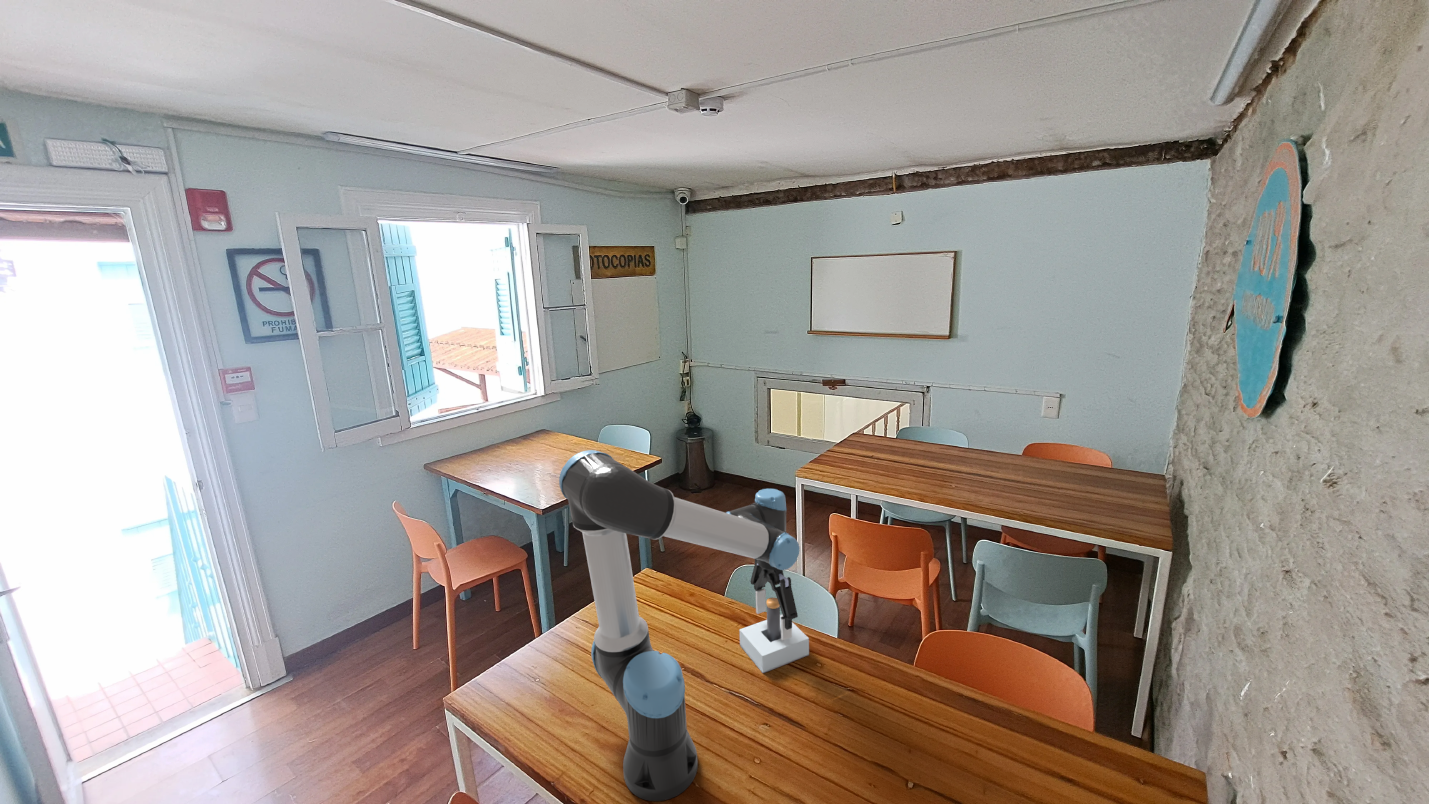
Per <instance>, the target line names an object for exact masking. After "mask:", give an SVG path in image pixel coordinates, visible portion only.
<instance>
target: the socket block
mask: <svg viewBox="0 0 1429 804" xmlns="http://www.w3.org/2000/svg"><path fill="white" fill-rule="evenodd" d="M781 616H782V614H780V639H778V640H775V641H773V642H770V641H769V640H768V639H767V619H765V620H761V621H760V622H757V623H753V624H751V625H748V626H745V627H743V628H739V647H740V648H741V649H742V650H743V651H744V652H745V654H746V655H747V656H748V658H750V660H751V661H752V662H753V663H754V664H755V666H756V667H757V668H758V669H759V671H760V672H761V673H762V674H765V673H767V672H770V671H772V670H775V669H778V668H780V667H782V666H785V665H788V664H790V663H793V662H795V661H797V660H800V659H803V658H804V657H805V658H806V657H808V656H810V638H809V637H808V636H807V635H806V634H805V633H804V632H803V631H802V630H801V629H800V628H799V627H798V626H797V625H796V624H795V623H794V622H793V621H792V637H791V638H788V639H785V640H782V639H781Z"/></svg>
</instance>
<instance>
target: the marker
mask: <svg viewBox="0 0 1429 804" xmlns="http://www.w3.org/2000/svg"><path fill="white" fill-rule="evenodd" d="M780 615H781V609H780V606H779V602H778V599H777V597H769V598H766V620H767V639H768V640H769V641H770V642H773V641H775V640H778V639H780Z"/></svg>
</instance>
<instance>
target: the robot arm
mask: <svg viewBox="0 0 1429 804" xmlns="http://www.w3.org/2000/svg"><path fill="white" fill-rule="evenodd" d="M558 485H559V488H560V491H561V493H562V495H563V497H564V498H565V499H567V501H568V507H569V511H570V516H571V520H572V526H573V528H575V529H576V530H577V531H580V532H581V533H582V538H583V543H584V549H585V555H586V560H587V561H586V562H587V566H588V571H589V577H590V582H591V588H592V595H593V599H594V600H593V601H594V605H595V610H596V616H597V622H598V628H596V630H595V632H594V636H593V641H592V644H591V645H592V646H591V651H590V653H591V655H590V657H591V660H592V661H591V662H592V664H593V667H594V669H595V671H596V673H597V674H598V676H599V678H601V679H602V680H603V681H604V683H605V684H606V686H607V687H608V689H609V690H610V692H611V693H612V695H613V696H614V698H615V699H616V701H617V702H618V704H619V705H620V707H621V708H622V710H623V712H624V713H625V715H626V721H627V729H628V730H627V731H628V738H629V739H628V742H627V747H626V749H625V752H624V753H625V754H624V757H623V762H622V763H623V764H622V769H623V779H624V782H625V785H626V786H627V789H628V790H629V791H630V792H631V793H632V794H634V795H635V796H636V797H638V798H639V799H641V800H645V801H649V802H662V801H667V800H671V799H673V798H676V797H677V796H679V795H681V794H682V793H684V792H685V791H686V790H687V788H689V787H690V785H691V784H692V783H693V782H694V779H695V777H696V775H697V772H698V762H699V761H698V753H697V748H696V745H695V743H694V742H693V739H692V737H691V735H690V733H689V731H688V727H687V712H686V697H685V695H686V694H685V692H686V686H685V679H684V675H683V671H682V667H681V665H680V663H679V662H678V661H677V660H676V659H675V658H674V657H673V656H672V655H671V654H669V653H666V652H662V653H660V651H658V650H655V649H653V647H652V643H651V639H650V632H649V627H648V623H647V621H646V620H645V619H644V618H643V617H642V616H640V615H639V609H638V608H639V607H638V600H637V593H636V587H635V583H634V577H633V570H632V569H633V568H632V562H631V555H630V549H629V544H628V543H629V541H628V536H627V535H632V536H636V537H641V538H645V539H649V540H659V539H661V538H662V537H666V538H670V539H673V540H678V541H682V542H685V543H690V544H694V545H697V546H701V547H706V548H709V549H714V550H718V551H722V552H727V553H730V554H735V555H738V556H742V557H746V558H750V559H754V565H753V569H752V573H751V578H750V584H751V585H753V590H754V591H755V613H756V615H759V614H761V613H765V612H767V605H766V601H767V596H766V595H767V594H766V593H767V592H766V591H767V589H766V588H765V587H767V586H766V584H767V583H769V584H770V587H771V590H772V591H773V592H774V593H775V597H776V598H777V599H778V602H779V606H780V613H781V615H782V616H781V639H782V640H785V639H788V638H791V637H792V622H793V619H797V618H798V617H799V616H798V611H797V605H796V602H795V597H794V593H793V589H792V579H791V577H789V576H788V577H786V576H785V575H784V571H787V570H789V569H790V568H792V567H793V566H794V565H795V564H796V562H797V560H798V558H799V555H800V545H799V542H798V540H797V539H796V538H795V537H794V536H792V535H790V533H787V509H788V508H787V503H786V501H787V500H786V495H785V493H784V492H783V491H781V490H778V489H777V488H762V489H760V490H758V492H756V493H755V498H754V502H753V503H750V504H749V505H746V506H742V507H739V508H736V509H732V510H729V511H726V512H724V511H721V510H717V509H714V508H711V507H708V506H705V505H701V504H698V503H695V502H692V501H688V500H685V499H683V498H682V499H681V498H679V497H675V496H674V493H673V492H672V491H671V490H669V489H668V488H664V487H662V486H659V485H657V484H655V483H653V482H651V481H649V480H648V479H645V478H644V477H643V476H642V475H640V474H639V473H636V471H634V470H632V469H630V468H629V467H627V466H625V465H624V464H622V463H620V462H619V461H617V460H615V459H614V458H613V457H612V456H611V455H610V454H608V453H605V452H601V451H598V450H595V449H590V450H589V449H588V450H583V451H580V452H577V453H576V454H574V455H573V456H571V457H570V458H569V459H568V460H567V461H566V462H565V464H564V465H563V467H562V468H561V470H560V473H559V478H558Z"/></svg>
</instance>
